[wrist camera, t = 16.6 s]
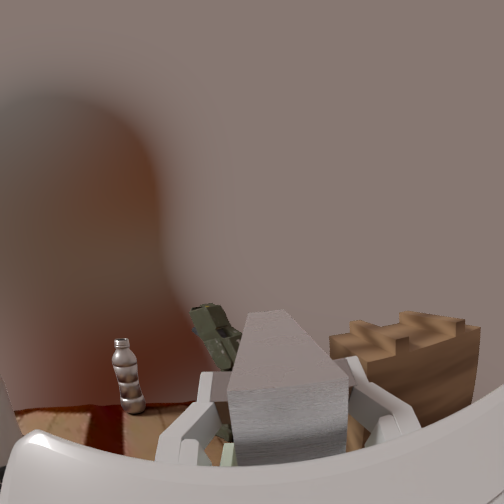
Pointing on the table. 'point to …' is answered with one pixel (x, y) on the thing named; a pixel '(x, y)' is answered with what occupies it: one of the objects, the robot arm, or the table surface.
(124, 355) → the plastic bottle
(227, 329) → the mechanical leg
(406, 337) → the wood grain block
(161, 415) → the table surface
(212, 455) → the table surface
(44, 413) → the table surface
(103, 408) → the table surface
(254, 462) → the link bar
